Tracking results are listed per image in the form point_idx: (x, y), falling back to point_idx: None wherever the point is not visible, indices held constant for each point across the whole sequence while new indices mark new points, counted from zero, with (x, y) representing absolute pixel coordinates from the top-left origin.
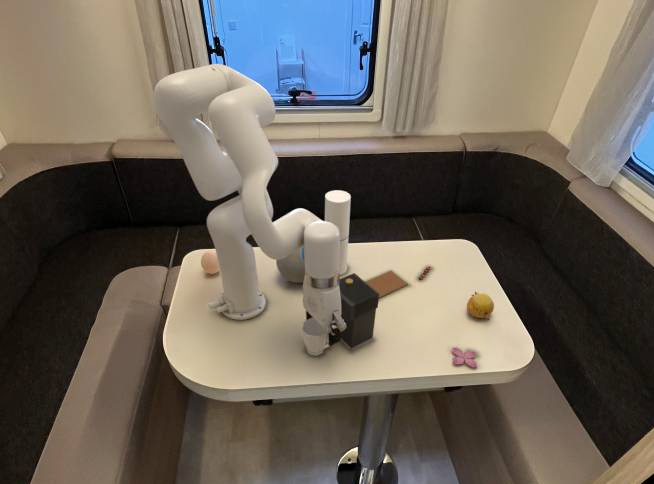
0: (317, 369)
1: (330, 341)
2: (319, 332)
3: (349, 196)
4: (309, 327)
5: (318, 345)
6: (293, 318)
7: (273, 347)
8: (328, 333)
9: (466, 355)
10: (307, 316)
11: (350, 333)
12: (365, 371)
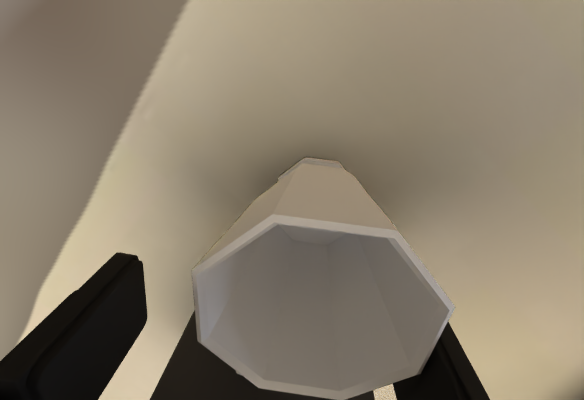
0: (210, 112)
1: (87, 290)
2: (334, 282)
3: None
4: (390, 282)
5: (244, 211)
6: (542, 263)
7: (528, 35)
8: (13, 380)
9: None
10: (457, 377)
11: (184, 366)
12: (94, 242)
